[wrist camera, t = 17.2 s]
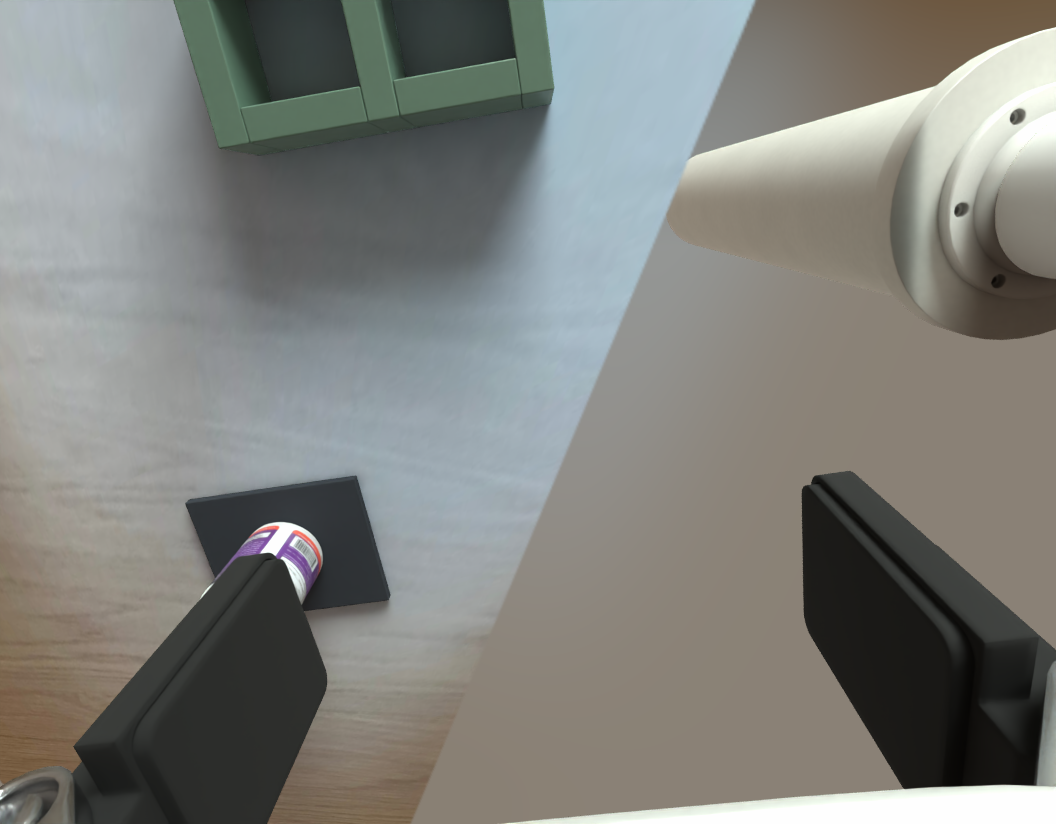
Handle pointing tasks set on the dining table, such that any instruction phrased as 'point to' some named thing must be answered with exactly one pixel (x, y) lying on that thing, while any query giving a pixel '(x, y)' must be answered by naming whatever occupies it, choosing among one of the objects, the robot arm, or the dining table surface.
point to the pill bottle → (286, 552)
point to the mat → (315, 507)
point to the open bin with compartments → (384, 93)
